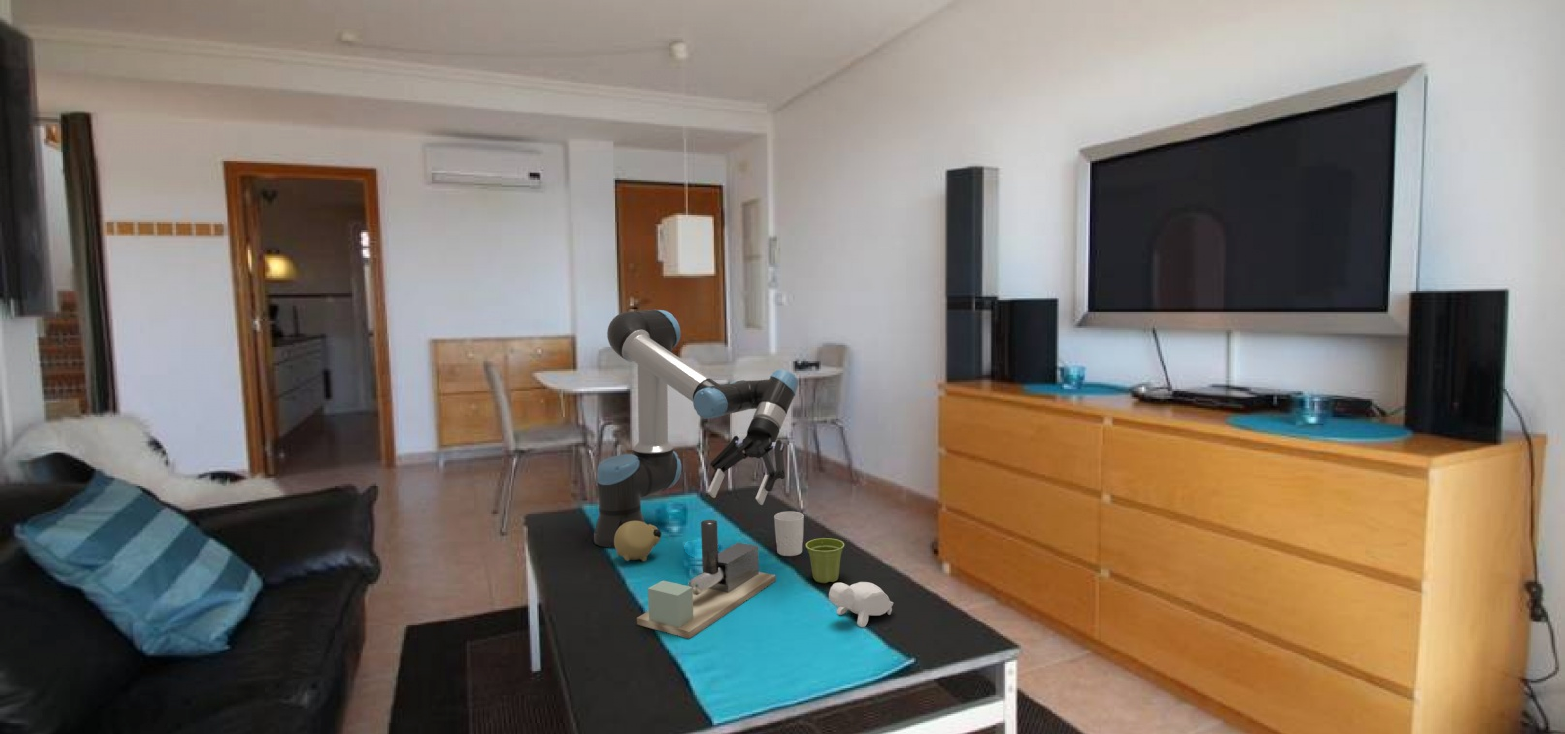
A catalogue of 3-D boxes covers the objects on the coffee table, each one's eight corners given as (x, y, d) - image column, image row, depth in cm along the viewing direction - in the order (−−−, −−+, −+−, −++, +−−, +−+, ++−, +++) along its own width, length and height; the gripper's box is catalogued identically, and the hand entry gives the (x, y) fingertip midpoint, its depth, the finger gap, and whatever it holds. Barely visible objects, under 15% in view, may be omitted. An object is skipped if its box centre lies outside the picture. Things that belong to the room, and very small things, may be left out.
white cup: (804, 557, 201) (803, 520, 200) (774, 557, 201) (773, 520, 200) (804, 546, 209) (803, 511, 207) (775, 547, 209) (774, 511, 208)
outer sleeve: (707, 588, 178) (706, 559, 177) (738, 569, 189) (738, 542, 188) (728, 592, 175) (727, 563, 174) (758, 573, 186) (758, 546, 185)
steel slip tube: (688, 593, 170) (686, 528, 168) (740, 562, 187) (738, 504, 186) (701, 596, 168) (699, 530, 166) (752, 565, 185) (750, 506, 184)
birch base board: (637, 624, 163) (636, 617, 163) (727, 571, 192) (727, 565, 192) (689, 638, 156) (689, 631, 156) (775, 581, 185) (775, 575, 185)
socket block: (649, 619, 162) (647, 588, 161) (664, 610, 166) (662, 580, 165) (679, 627, 158) (677, 595, 157) (693, 618, 162) (692, 587, 161)
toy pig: (666, 559, 201) (665, 520, 200) (624, 570, 194) (622, 529, 193) (651, 549, 209) (649, 511, 208) (609, 559, 203) (607, 520, 201)
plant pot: (799, 582, 184) (798, 547, 183) (816, 569, 192) (815, 535, 191) (835, 588, 180) (834, 553, 179) (850, 575, 188) (850, 540, 187)
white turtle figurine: (864, 617, 171) (814, 609, 163) (875, 580, 172) (825, 570, 163) (890, 631, 164) (839, 624, 155) (901, 592, 165) (850, 583, 156)
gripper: (815, 436, 188) (786, 512, 176) (731, 429, 200) (699, 499, 189) (804, 419, 183) (773, 496, 171) (718, 412, 195) (685, 484, 184)
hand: (734, 498), depth 180 cm, fingers open, 13 cm apart
